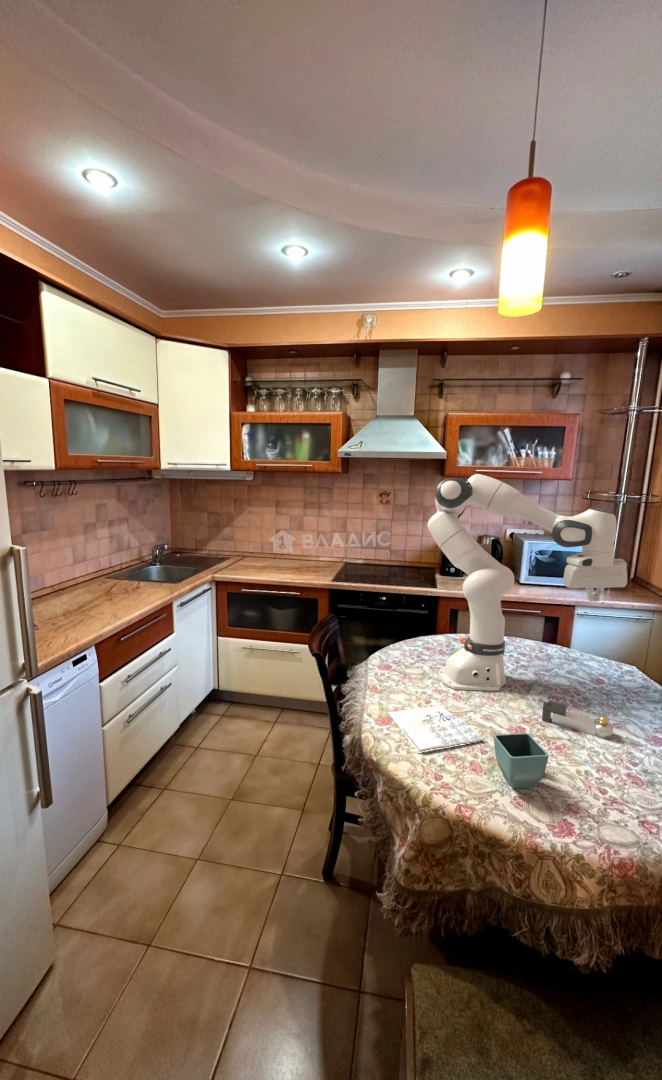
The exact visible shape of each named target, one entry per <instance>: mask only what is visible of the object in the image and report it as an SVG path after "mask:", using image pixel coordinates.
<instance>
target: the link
mask: <svg viewBox="0 0 662 1080" xmlns="http://www.w3.org/2000/svg"><path fill="white" fill-rule="evenodd" d="M599 720H600V719H595V718H594V719H593V718H591V717H587V716H584V715H580V714H577V713H575V712H569V711H566V714H565V716H564V715H560V714H556V713H552V712H551V723H552V724H556V725H559V726H562V727H566V728H569V729H573V730H576V731H579V732H583V733H586V734H590V735H593V736H596V737H597V738H600V739H601V740H612V739H613V735H614V725H613V724H611V723H610V722H608V725H607V726H605V725H601V724H600V723H599Z"/></svg>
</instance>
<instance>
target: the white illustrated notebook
mask: <svg viewBox="0 0 662 1080" xmlns="http://www.w3.org/2000/svg"><path fill="white" fill-rule="evenodd" d="M387 715H388V717H389V718H390V719H391V718H392V719H393V720H392V719H391V720H392V721H393V723H395V725H396V724H397V725H398V726H397V725H396V726H397V727H398V729H399V728H400V729H401V730H400V729H399V730H400V731H402V732H403V733H402V732H401V733H402V734H403V736H404V735H405V736H406V737H405V736H404V737H405V739H406V738H407V739H408V740H409V741H410V743H411V744H412V745H413V746H415V748H416V750H417V751H425V750H430V749H436V748H443V747H449V746H455V745H460V744H467V743H474V744H476V743H475V742H479V741H480V742H481V741H484V738H483V737H481V735H480V734H478V733H477V732H476V731H475V730H474V729H473V728H472V727H471V726H470V725H469V724H468V723H467V721H465V720H464V719H463V717H461V716H459V717H455V716H454V715H453V714H452V713H451V712H450V711H449V710H448V709H447V708H446V707H445V706H444V705H442V704H439V705H433V706H428V707H420V708H412V709H406V710H404V709H403V710H398V711H387ZM431 720H432V721H433V720H438V721H440V722H441V723H436V724H428V725H424V726H422V725H423V721H424V722H426V721H431ZM418 725H421V726H418ZM407 739H406V740H407ZM408 740H407V741H408ZM409 741H408V742H409ZM480 742H479V743H480ZM410 743H409V744H410ZM411 744H410V745H411Z"/></svg>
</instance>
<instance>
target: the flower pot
mask: <svg viewBox="0 0 662 1080" xmlns="http://www.w3.org/2000/svg"><path fill="white" fill-rule="evenodd" d="M493 745H494V754H495V755H494V756H495V759H496V763H497V766H498V769H499V770H500V772H501V773H502V775H503V777H504V778H505V779H506V780H507V782H508V784H509V785H510V787H511V788H512V789H522V788H534V787H536V786H538V784H539V783H540V782H541V781H542V779H543V778H544V775H545V773H546V769H547V763H548V760H549V757H550V755H549V753H548V752H547V751H546V750H545V749H544V748H543V747H542V746H541V745H540V744H539V743H538V742H537V741H536V740H535V738H533V736H532V735H531V734H530V733H528V732H525V733H524V732H523V733H521V732H520V733H508V734H506V733H505V734H504V733H503V734H494V735H493Z"/></svg>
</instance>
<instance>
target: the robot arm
mask: <svg viewBox="0 0 662 1080" xmlns="http://www.w3.org/2000/svg"><path fill="white" fill-rule="evenodd" d="M434 496H435V499H434V502H435V507H436V513H435V514H433V515H431V517H430V518H429V519H428V521H427V530H428V531H429V533H430V536H431V537H432V539H433V540H434V541H435V543H436V545H437V546H438V547H439V549H440V550H441V551H442V553H443V555H445V557H446V558H447V559H448V560H449V562H450V563H451V564H452V565H453V566H454V567H455V568H457V569H459V570H461V571H462V572H464V573H465V574H466V575H467V578H465V580H464V581H463V583H462V594H463V595H464V598H465V599H466V600H467V603H468V609H469V617H470V619H469V635H468V637H467V638H465V637H464V636H459V638H458V641H459V642H460V644H462V645H463V646H462V648H460V649H459V650H458V651H456V652H454V653H453V654H451V655H450V656H449V657H448V658H447V660H446V661H445V662H446V663H445V666H444V667H443V668H439V670H438V673H437V674H438V678H439V679H440V680H441V681H442V683H444V685H446V686H447V687H449V688H451V689H453V690H460V691H461V690H465V691H467V690H468V691H490V692H492V691H493V692H499V691H500V690H501V688H503V686H504V685H506V684H507V678H506V673H505V667H504V666H505V665H504V656H505V651H506V650H505V648H506V646H505V645H506V641H505V640H504V639H505V626H506V625H505V624H506V618H505V616H504V614H503V611H502V602H501V601H502V597H504V596H505V595H507V594H508V593H509V592H510V591H511V590H512V588H513V587H514V584H515V575H514V573H513V571H512V570H511V569H510V568H509V567H508V566H505V565H503V564H502V563H500V562H499V561H498V560H497V559H495V558H494V557H493V556H492V555H491V554H490V553H489V552H487V551H486V550H485V549H484V548H483V547H482V546H481V545H480V544H479V543H478V542H477V540H475V538H474V537H473V536H472V535H471V534H470V532H469V531H468V530H467V529H466V528H465V526H464V525H463V524H462V523H461V521H460V517H461V516H462V515H463V514H464V512H465V510H466V507H467V506H470V505H474V506H478V507H480V508H482V509H483V510H485V511H487V512H489V513H492V514H494V515H497V516H501V517H502V518H503V517H504V518H509V519H510V518H512V519H513V518H515V519H516V518H517V519H523V520H526V521H529V522H531V523H533V524H535V525H536V526H539V527H541V528H543V529H546V531H547V530H548V531H549V532H550V533H551V537H552V540H553V541H554V542H555V543H556V544H557V545H558V546H561V547H562V548H575V547H582V551H580V552H578V553H575V554H572V555H569V556H567V557H566V563H567V565H566V566H565V568H564V571H563V572H564V573H563V577H562V578H563V580H562V582H563V583H562V584H563V585H564V586H565V587H566V588H568V589H571V590H572V589H584V590H585V592H586V594H587V601H589V602H600V601H601V596H602V595H603V593H604V591H605V588H608V589H609V588H625V587H626V586H627V585H628V570H627V566H628V563H627V562H626V560H625V559H623V558H615V546H614V543H615V540H616V537H617V518H616V515H615V514H614V513H613V512H612V511H610V510H607V509H602V508H595V507H593V508H591V507H590V508H589V509H587V510H585V511H583V512H581V513H578V514H576V515H571V514H559V513H557V512H554V511H552V510H549V509H547V508H546V507H543V506H541V505H539V504H536V503H535V502H533V501H532V500H530V499H529V498H528V497H527V496H525V495H524V494H522V493H521V491H519V490H517V489H516V488H515V487H513V486H511V485H510V484H508V483H505V482H503V481H501V480H499V479H496V478H494V477H491V476H488V475H485V474H480V473H475V474H473V475H471V476H470V477H469V478H468V479H467V478H456V477H448V478H445V479H443V480H441V481H440V482H439V483H438V484H437V486H436V488H435V491H434ZM594 589H595V590H596V591H595V593H594V594H593V592H594Z"/></svg>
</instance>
